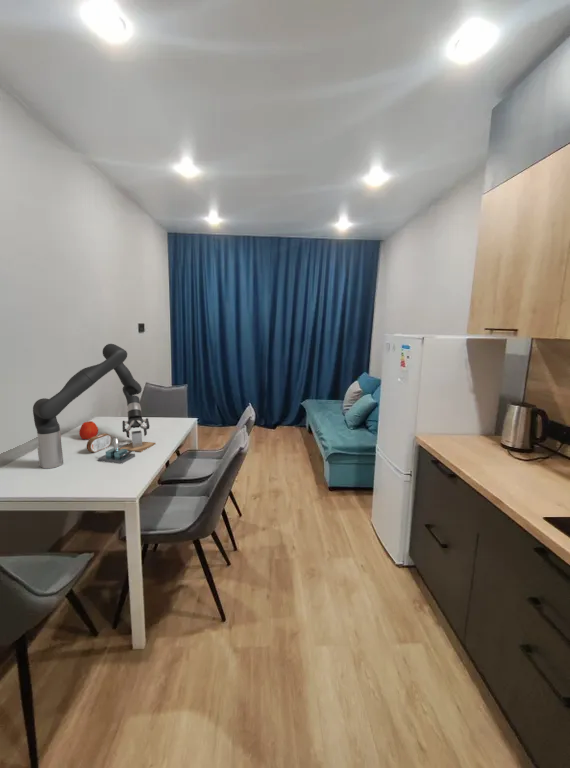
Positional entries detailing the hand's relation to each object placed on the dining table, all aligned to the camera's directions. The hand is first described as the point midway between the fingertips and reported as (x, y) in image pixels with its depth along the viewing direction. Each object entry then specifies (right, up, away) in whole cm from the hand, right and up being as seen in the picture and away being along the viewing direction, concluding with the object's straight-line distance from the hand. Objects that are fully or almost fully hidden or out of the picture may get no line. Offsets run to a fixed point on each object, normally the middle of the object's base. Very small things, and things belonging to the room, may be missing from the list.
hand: (137, 436), depth 197 cm
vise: (-3, -9, -16) cm, 19 cm away
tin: (-19, -7, -4) cm, 20 cm away
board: (0, -6, +1) cm, 6 cm away
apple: (-36, -4, +17) cm, 40 cm away
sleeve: (0, -5, +1) cm, 6 cm away
